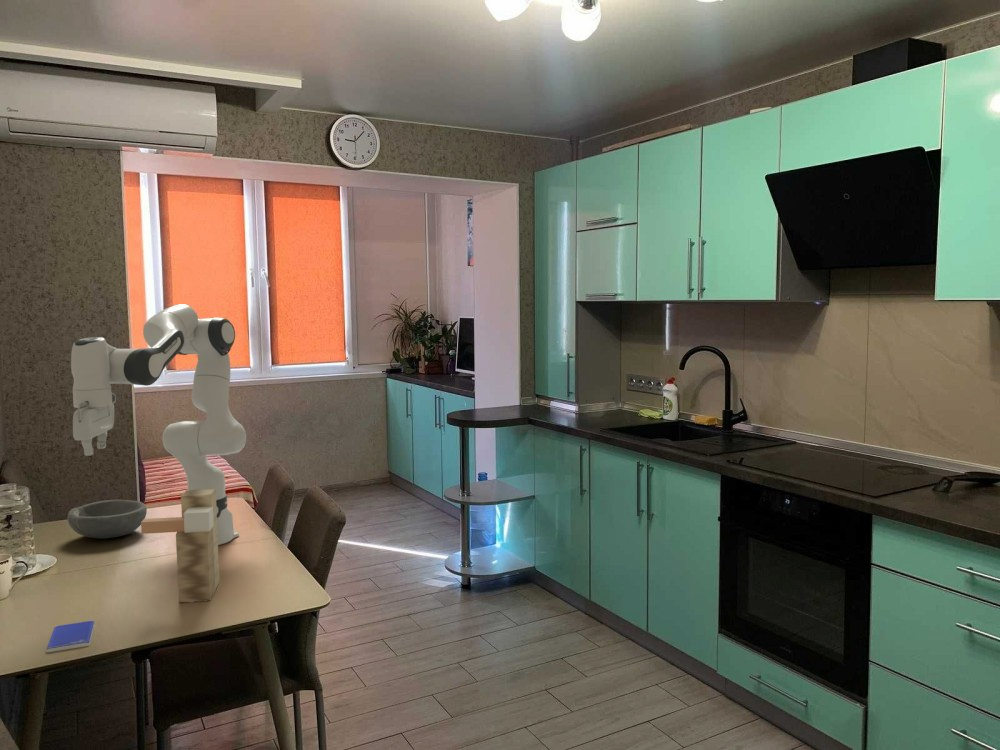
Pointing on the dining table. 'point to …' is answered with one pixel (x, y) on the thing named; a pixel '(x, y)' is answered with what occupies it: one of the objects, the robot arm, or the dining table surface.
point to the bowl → (107, 518)
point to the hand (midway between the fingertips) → (95, 451)
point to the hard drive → (71, 636)
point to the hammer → (181, 522)
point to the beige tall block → (198, 552)
